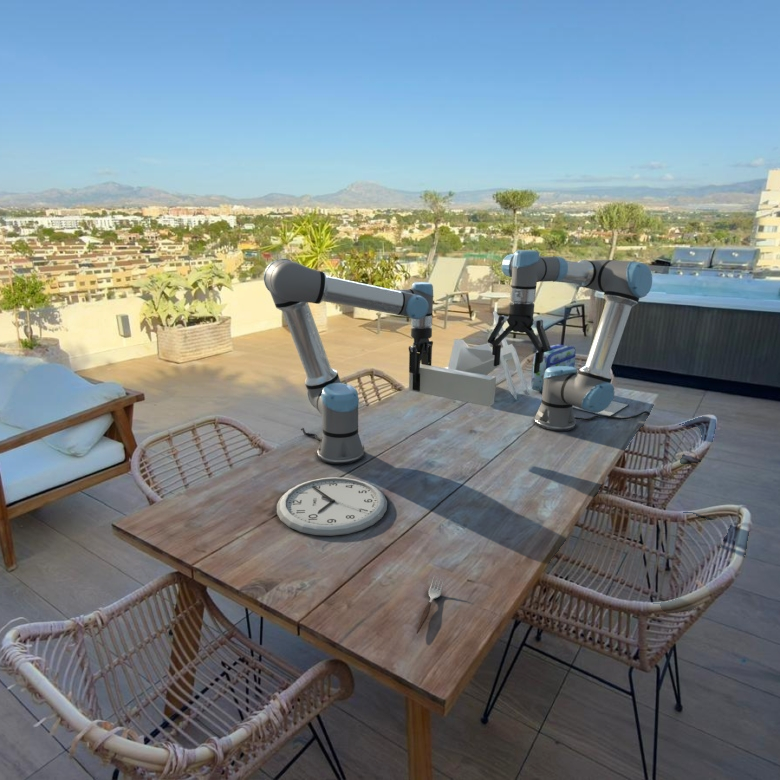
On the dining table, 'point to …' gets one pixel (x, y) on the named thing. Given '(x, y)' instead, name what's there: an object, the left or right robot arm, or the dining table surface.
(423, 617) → the fork
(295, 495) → the wall clock
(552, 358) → the lunch box
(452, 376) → the bar
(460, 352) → the white plastic object
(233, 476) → the dining table surface
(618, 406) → the invitation card
